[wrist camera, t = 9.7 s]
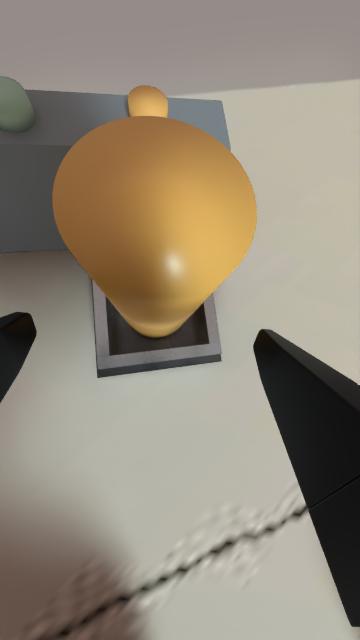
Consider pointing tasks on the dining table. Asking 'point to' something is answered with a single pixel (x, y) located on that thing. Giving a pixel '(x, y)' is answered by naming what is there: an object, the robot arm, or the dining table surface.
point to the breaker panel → (67, 148)
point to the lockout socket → (152, 341)
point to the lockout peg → (154, 217)
